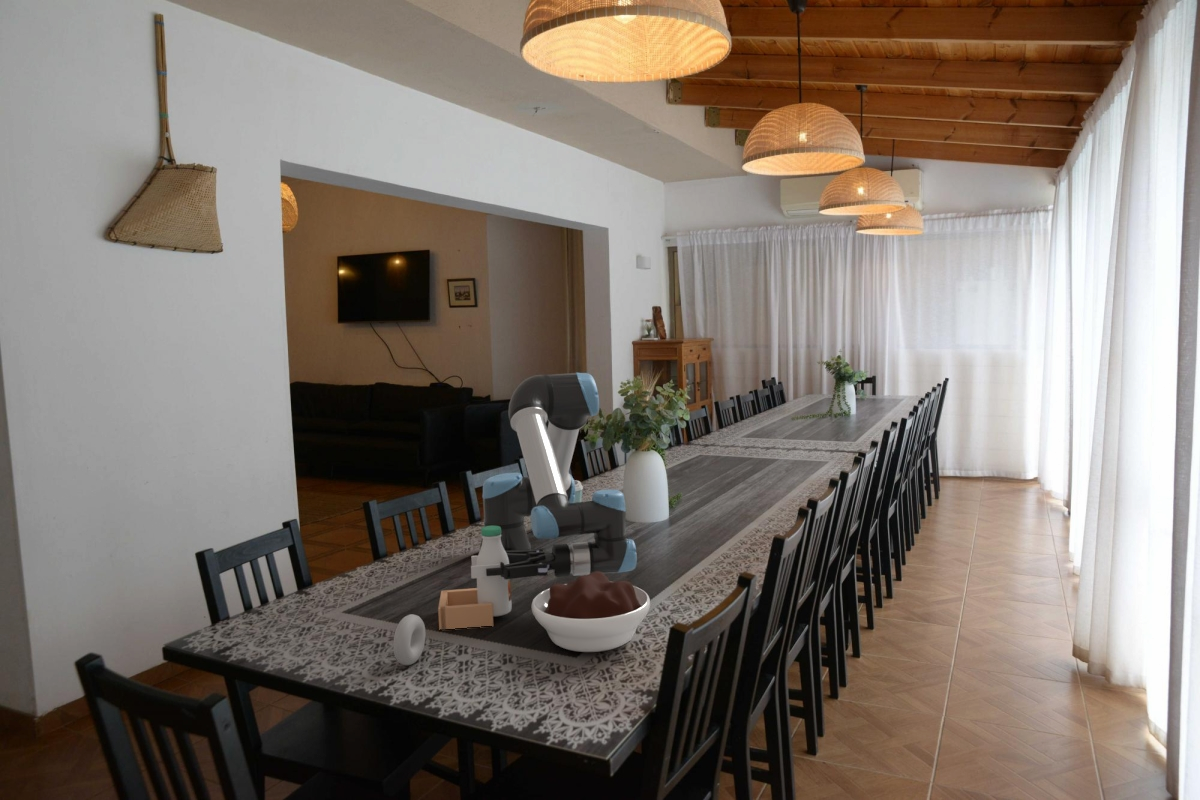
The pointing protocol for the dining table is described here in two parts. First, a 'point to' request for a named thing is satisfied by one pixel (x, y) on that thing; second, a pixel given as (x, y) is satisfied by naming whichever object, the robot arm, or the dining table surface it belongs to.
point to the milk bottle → (493, 587)
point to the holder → (463, 610)
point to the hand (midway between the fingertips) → (471, 567)
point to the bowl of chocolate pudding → (591, 612)
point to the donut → (409, 639)
